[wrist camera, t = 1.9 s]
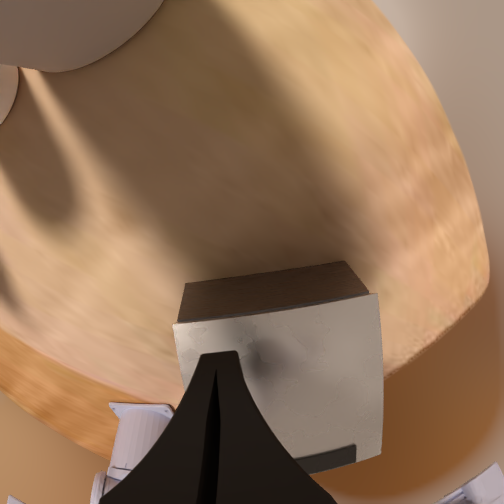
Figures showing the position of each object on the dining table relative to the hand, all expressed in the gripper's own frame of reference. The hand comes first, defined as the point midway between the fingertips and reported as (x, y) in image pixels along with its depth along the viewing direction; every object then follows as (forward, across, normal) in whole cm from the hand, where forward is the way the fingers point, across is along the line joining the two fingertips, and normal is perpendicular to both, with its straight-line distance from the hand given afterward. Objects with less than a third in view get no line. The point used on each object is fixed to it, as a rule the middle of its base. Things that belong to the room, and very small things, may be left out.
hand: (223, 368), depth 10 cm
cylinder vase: (+10, +7, -21) cm, 25 cm away
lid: (+2, -3, +7) cm, 8 cm away
